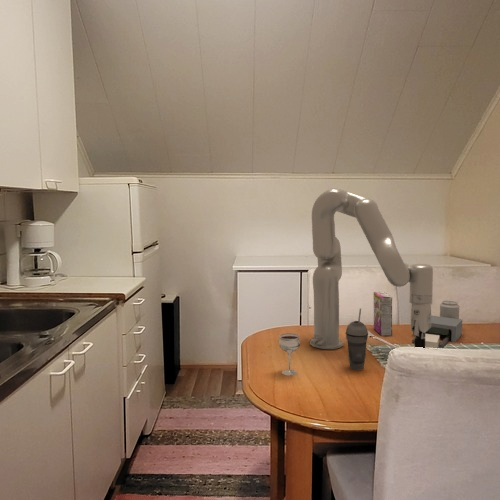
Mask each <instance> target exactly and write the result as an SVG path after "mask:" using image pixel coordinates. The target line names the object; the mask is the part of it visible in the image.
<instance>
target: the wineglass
mask: <svg viewBox="0 0 500 500" xmlns="http://www.w3.org/2000/svg"><path fill="white" fill-rule="evenodd" d="M300 336H301V335H299V334H297V333H292V332H291V333H290V332H288V333H282V334H279V335H278V337H279V340H278V344H279V345H278V346H279V348H280V349H281V350H282V351H284V352H286V353H287V355H288V369H285V370H282V375H285V376H290V377H291V376H295V375H298V371H297V370H294V369H291V364H292V363H291V360H292V359H291V357H292V354H293V352H296V351H297V350H298V349H299V347H300V345H301V340H300Z"/></svg>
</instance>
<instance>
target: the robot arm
mask: <svg viewBox="0 0 500 500" xmlns="http://www.w3.org/2000/svg"><path fill="white" fill-rule="evenodd" d="M336 212H338V213H341V214H343V215H346V216H350V217H352V218H355V219H356V221H357V223H358V224H359V226H360V228H361V230H362V232H363V234H364V236H365V238H366V240H367V242H368V244H369V246H370V248H371V250H372V252H373V253H374V256H375V258H376V260H377V262H378V263H379V266H380V268H381V270H382V271H383V274H384V275H385V277H386V279H387V281H388V283H390V284H391V286H393V287H396V288H397V287H399V288H401V287H404V286H406V285H407V284H408V283H409V303H410V304H411V309H410V311H411V313H410V331H412V332H413V331H414V330H415V331H414V336H413V337H414V338H415V343H414V348H415V347H423V348H425V334H427V333H428V332H427V331H428V330H429V329H430V328H431V316H432V304H433V290H434V289H433V282H434V281H433V278H434V268H433V266H432V265H431V264H426V263H416V264H412V263H406V262H404V260H403V259H402V257H401V255H400V252H399V250H398V248H397V245H396V243H395V239H394V236H393V233H392V232H391V230H390V228H389V226H388V224H387V223H386V220H385V218H384V217H383V215H382V213H381V211H380V209H379V206H378V204H377V202H376V201H374V200H373V199H371V198H367V197H364V196H361V195H357V194H355V193H351V192H350V191H349V192H348V191H347V190H343V189H341V188H338V187H337V188H330V189H327V190H326V191H324V192H323V193H321V194H320V195H319V196H318V197H317V198H316V199H315V201H314V202H313V206H312V210H311V232H312V233H311V235H312V236H311V237H312V252H313V255H314V256H315V257H316V258H317V267H315V270H314V271H313V275H312V289H313V338H311V339H310V341H309V345H311V346H312V347H313V348H316V349H319V350H336V349H340V348H342V347H343V346H344V342H343V340H342V339H340V291H339V290H340V289H339V281H340V280H341V279H342V276H343V275H342V274H343V266H342V265H343V264H342V251H341V248H342V247H341V244H340V241H339V239H338V237H336V226H335V225H336V224H335V213H336ZM426 332H427V333H426ZM425 349H426V348H425Z"/></svg>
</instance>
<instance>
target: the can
mask: <svg viewBox="0 0 500 500" xmlns="http://www.w3.org/2000/svg"><path fill="white" fill-rule="evenodd" d="M439 317H447V318H455V319H460V306H459V302H457V301H456V300H455V301H454V300H442V301H441V303H440V304H439Z"/></svg>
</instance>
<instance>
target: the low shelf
mask: <svg viewBox="0 0 500 500" xmlns="http://www.w3.org/2000/svg"><path fill="white" fill-rule="evenodd" d="M414 331H415V330H414ZM414 331H412V336H413V337H414V338H413V339H412V340H411V344H415V336H414ZM426 334H434V335H443V336H446V337H445V338H443V339H442V341H440V342H439V345H438V348H439V347H443V348H444V347H446V345H447V344H448V343H449V341H451V343H457V341H458V340H459V339H460V338H461V336H462V335H463V319H462V318H459V319H455V318H447V317H440V315H431V328H430V329H429V330H428V331H427V332H426Z"/></svg>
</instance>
